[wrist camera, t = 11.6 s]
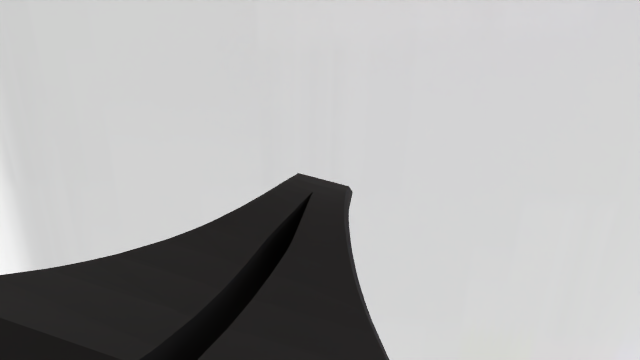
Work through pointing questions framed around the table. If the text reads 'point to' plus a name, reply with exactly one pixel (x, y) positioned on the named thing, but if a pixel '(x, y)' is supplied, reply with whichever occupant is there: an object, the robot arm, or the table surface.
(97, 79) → the table surface
